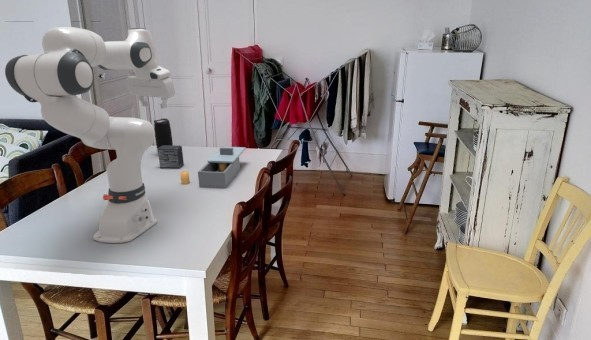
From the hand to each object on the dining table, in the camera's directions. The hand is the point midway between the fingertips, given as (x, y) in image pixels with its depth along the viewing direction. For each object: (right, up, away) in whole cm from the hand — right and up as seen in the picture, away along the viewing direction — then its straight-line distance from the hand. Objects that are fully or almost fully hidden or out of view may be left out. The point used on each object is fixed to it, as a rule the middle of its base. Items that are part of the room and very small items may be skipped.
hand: (154, 107), depth 163 cm
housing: (+22, -30, +26) cm, 45 cm away
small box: (-7, -23, +46) cm, 52 cm away
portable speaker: (-16, -17, +64) cm, 68 cm away
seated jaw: (+22, -27, +30) cm, 46 cm away
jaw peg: (+7, -32, +22) cm, 39 cm away
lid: (+23, -18, +34) cm, 45 cm away
